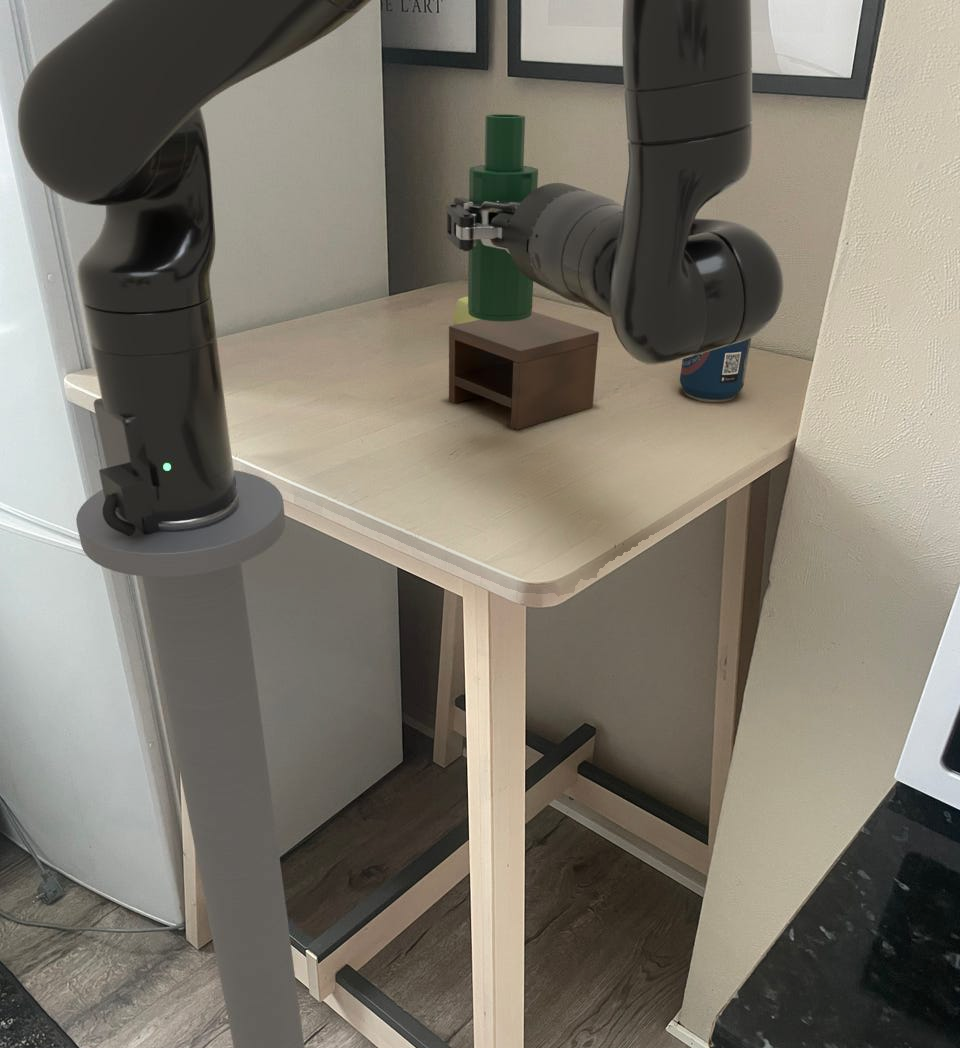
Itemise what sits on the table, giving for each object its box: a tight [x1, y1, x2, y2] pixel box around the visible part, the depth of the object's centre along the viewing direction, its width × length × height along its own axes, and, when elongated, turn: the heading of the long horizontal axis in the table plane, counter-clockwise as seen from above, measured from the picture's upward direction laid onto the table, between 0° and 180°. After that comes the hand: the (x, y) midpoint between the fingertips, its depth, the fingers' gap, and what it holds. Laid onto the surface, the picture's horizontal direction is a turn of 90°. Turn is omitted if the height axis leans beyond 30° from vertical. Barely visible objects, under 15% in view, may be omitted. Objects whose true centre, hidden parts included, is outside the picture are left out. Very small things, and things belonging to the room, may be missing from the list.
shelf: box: [448, 311, 600, 431], centre depth 103 cm, size 11×11×8 cm
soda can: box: [679, 337, 752, 403], centre depth 106 cm, size 7×7×12 cm
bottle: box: [467, 113, 539, 321], centre depth 85 cm, size 6×6×16 cm
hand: (491, 208), depth 87 cm, fingers closed on bottle, 6 cm apart
